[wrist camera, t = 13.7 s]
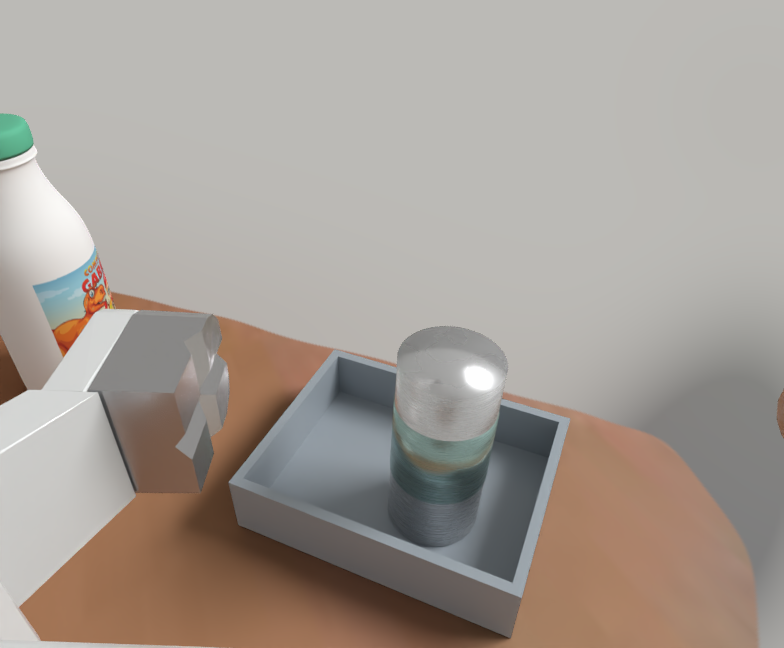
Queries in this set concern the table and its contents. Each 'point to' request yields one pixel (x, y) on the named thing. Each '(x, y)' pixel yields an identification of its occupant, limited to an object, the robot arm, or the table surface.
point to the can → (443, 431)
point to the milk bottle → (41, 262)
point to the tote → (371, 488)
